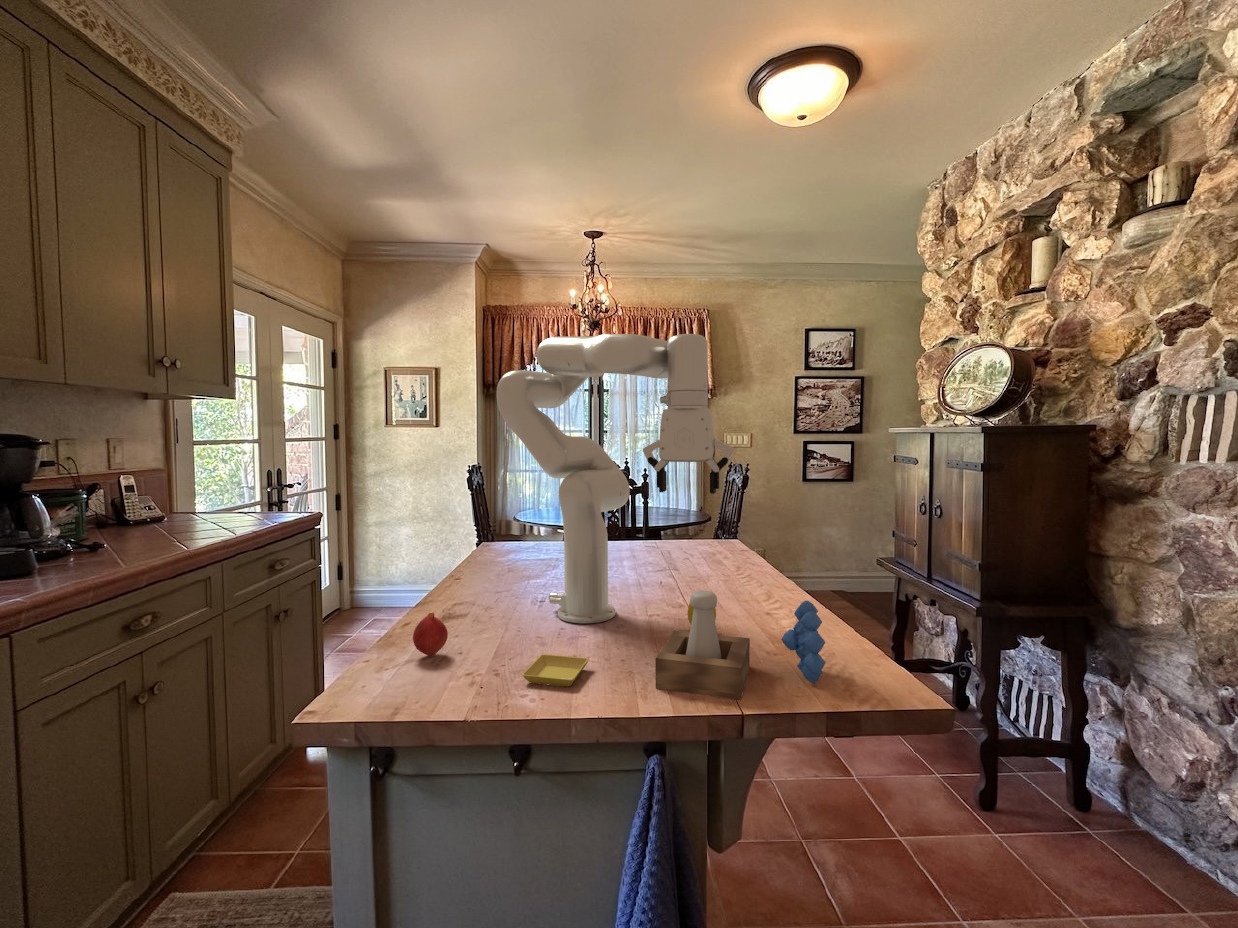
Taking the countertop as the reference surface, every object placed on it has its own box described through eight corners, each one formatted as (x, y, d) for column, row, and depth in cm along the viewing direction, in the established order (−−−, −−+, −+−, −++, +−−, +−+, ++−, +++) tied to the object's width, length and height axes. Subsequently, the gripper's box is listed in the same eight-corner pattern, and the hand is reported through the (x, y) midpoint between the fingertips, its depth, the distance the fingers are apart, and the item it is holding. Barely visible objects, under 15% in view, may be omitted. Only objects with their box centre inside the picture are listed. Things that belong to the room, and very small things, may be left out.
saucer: (573, 693, 87) (572, 679, 87) (521, 687, 89) (520, 674, 89) (589, 670, 95) (589, 658, 95) (542, 665, 97) (541, 653, 97)
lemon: (718, 630, 113) (718, 590, 113) (713, 639, 108) (713, 598, 108) (690, 627, 115) (690, 588, 115) (684, 636, 110) (684, 595, 110)
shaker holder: (655, 688, 87) (655, 657, 87) (674, 657, 100) (674, 630, 99) (741, 700, 83) (741, 668, 83) (749, 665, 96) (749, 638, 95)
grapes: (775, 661, 98) (775, 592, 97) (815, 662, 97) (816, 593, 96) (786, 691, 86) (787, 613, 86) (833, 693, 85) (833, 614, 85)
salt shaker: (721, 680, 88) (721, 598, 87) (684, 677, 89) (684, 596, 89) (721, 665, 94) (721, 588, 93) (687, 663, 95) (687, 586, 94)
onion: (416, 665, 97) (414, 619, 97) (411, 653, 102) (410, 610, 102) (450, 658, 100) (449, 614, 99) (444, 648, 105) (443, 605, 104)
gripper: (637, 401, 106) (638, 493, 106) (731, 399, 100) (731, 495, 101) (648, 404, 113) (648, 489, 113) (736, 401, 107) (736, 491, 108)
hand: (687, 492), depth 107 cm, fingers open, 9 cm apart
